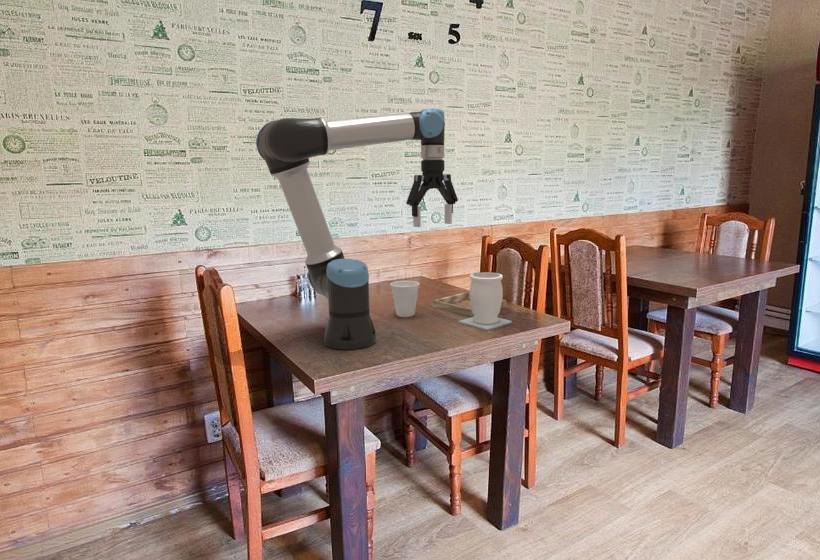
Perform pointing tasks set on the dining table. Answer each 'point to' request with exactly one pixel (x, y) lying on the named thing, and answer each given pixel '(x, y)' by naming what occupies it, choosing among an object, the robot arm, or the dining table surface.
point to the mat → (485, 326)
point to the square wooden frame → (448, 306)
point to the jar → (486, 296)
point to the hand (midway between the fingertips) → (432, 225)
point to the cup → (405, 297)
